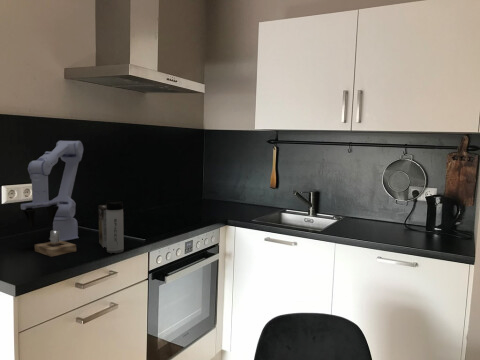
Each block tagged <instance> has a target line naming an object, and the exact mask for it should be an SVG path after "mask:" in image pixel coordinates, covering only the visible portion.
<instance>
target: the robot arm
mask: <svg viewBox="0 0 480 360" xmlns="http://www.w3.org/2000/svg"><path fill="white" fill-rule="evenodd" d="M55 144H56V145H55V147H54V149H52V150H51V151H45V152H44V154H43V155H41V156H39V158H37V159H36V160H31V161H30V162H29V164H28V165H27V166H28V167H27V171H28V174H29V179H30V180H31V194H32V195H31V196H32V197H31V198H32V202H26V203H21V204H20V210H21V211H22V212H23V214H24V215H25V218H26V219H27V223H28V225H29V228H34V227H35V213H36V210H35V209H36V208H37V209H38V208H45V207H46V211H47V222H48V225H49V224H50V225H52V230H59V234H60V240H61V241H65V242H67V241H70V240H75V239H79V238H80V237H79V236H78V235H79V229H78V225H79V224H78V220H77V219H76V218H75V215H76V206H77V205H76V204H77V203H76V202H75V200H74V199H72V193H73V189H74V185H75V181H76V175H77V171H78V166H79V163H80V162H82V158H83V155H84V154H83V153H84V145H83V143H82V141H81V140H58V141H57V142H56V143H55ZM59 158H60V159H61V161H63V162H65V166H64V168H63V169H64V170H63V174H62V178H61V182H60V186H59V187H60V188H59V190H58V195H57V196H56V197H54V198H52V199H51V200H49V175H50V174H51V171H52V169H53V167H54V166H55V165H56V164H57V163H58V161H59ZM48 240H50V237H49V238H48Z"/></svg>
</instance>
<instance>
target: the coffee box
mask: <svg viewBox="0 0 480 360" xmlns="http://www.w3.org/2000/svg"><path fill="white" fill-rule="evenodd" d="M106 208H107V207H106V204H100V205H98V238H99V239H98V241H99V242H98V243H99V244H100V245H101V247H102V248H104V247H105V248H107V228H106Z"/></svg>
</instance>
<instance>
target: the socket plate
mask: <svg viewBox="0 0 480 360" xmlns="http://www.w3.org/2000/svg"><path fill="white" fill-rule="evenodd" d="M34 252H36V253H39V254H42V255H45V256H48V257H51V258H52V257H56V256H61V255H64V254H69V253H75V252H77V244H75V243H71V242H68V241H61V240H60V246H56V247H51V241H48V242H42V243H37V244H34Z"/></svg>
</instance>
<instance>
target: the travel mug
mask: <svg viewBox="0 0 480 360" xmlns="http://www.w3.org/2000/svg"><path fill="white" fill-rule="evenodd" d="M105 205H106V207H107V208H106V228H107V247H106V252H107V253H108V254H112V253H115V254H121V253H123V252H124V249H125V247H124V245H125V244H124V234H125V233H124V207H123V206H124V203H123V202H122V201H121V200H111V199H107V200H105Z"/></svg>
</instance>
